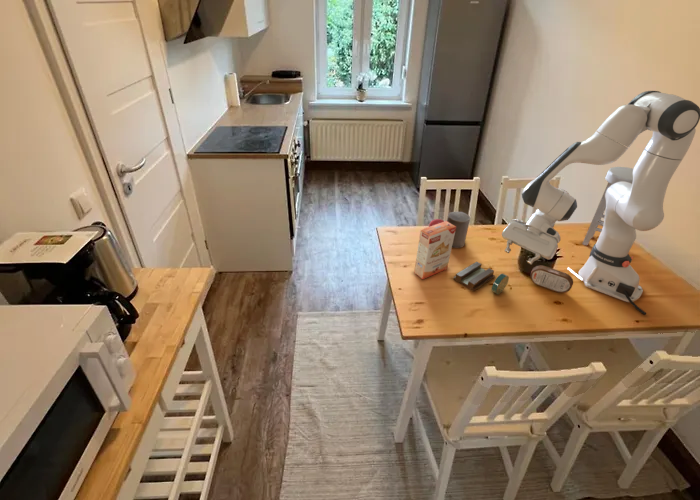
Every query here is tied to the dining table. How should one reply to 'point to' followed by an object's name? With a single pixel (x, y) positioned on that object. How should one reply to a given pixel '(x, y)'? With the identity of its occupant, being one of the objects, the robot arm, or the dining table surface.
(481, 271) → the stand
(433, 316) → the dining table surface
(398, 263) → the dining table surface
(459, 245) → the pillar candle
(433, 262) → the cracker box
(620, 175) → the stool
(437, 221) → the lollipop
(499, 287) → the disc
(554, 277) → the tin
